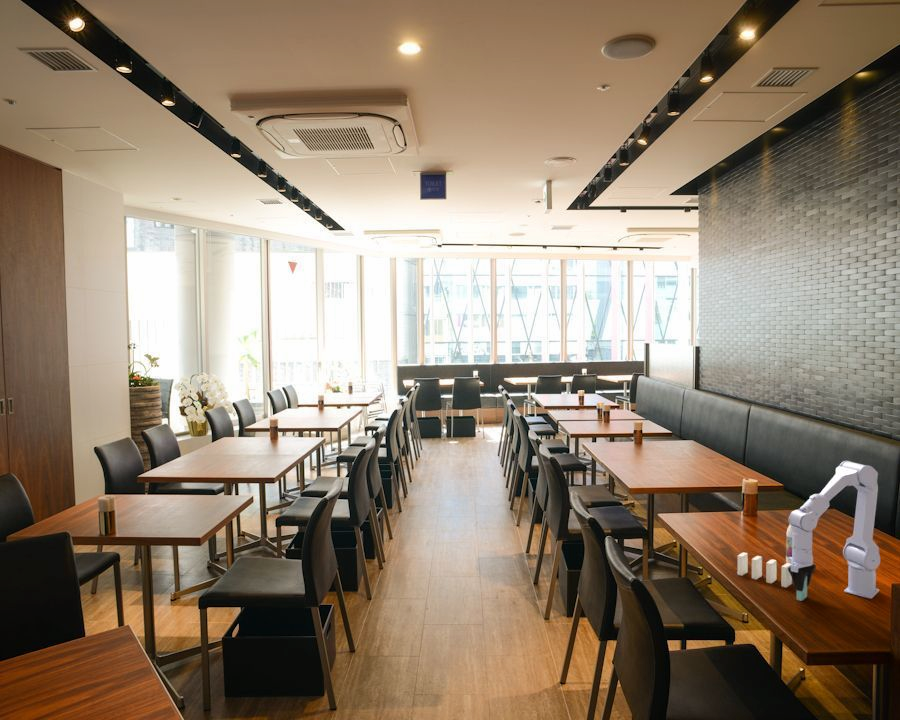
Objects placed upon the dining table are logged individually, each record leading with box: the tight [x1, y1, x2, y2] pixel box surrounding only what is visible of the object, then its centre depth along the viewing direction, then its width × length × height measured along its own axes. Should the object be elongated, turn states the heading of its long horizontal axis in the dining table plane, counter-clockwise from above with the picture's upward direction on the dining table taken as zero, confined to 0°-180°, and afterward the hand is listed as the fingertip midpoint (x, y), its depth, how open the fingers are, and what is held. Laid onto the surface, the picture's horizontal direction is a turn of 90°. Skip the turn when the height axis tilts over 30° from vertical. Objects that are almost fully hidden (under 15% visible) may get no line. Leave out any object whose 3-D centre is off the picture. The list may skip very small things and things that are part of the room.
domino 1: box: [736, 551, 749, 576], centre depth 226 cm, size 5×2×7 cm, turn 132°
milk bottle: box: [785, 510, 794, 564], centre depth 234 cm, size 8×8×20 cm
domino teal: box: [795, 576, 808, 602], centre depth 204 cm, size 5×2×7 cm, turn 132°
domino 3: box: [765, 558, 778, 584], centre depth 219 cm, size 5×2×7 cm, turn 132°
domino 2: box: [751, 555, 763, 580], centre depth 222 cm, size 5×2×7 cm, turn 132°
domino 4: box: [780, 562, 793, 588], centre depth 215 cm, size 5×2×7 cm, turn 132°
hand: (801, 587), depth 204 cm, fingers closed on domino teal, 5 cm apart
